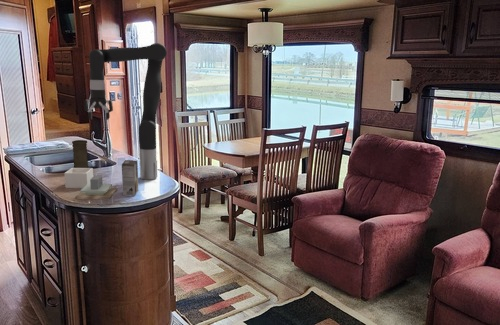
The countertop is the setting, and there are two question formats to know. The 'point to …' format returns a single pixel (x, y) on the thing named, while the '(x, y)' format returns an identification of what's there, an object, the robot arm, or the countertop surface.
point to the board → (105, 196)
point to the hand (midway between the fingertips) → (99, 119)
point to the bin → (78, 177)
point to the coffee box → (130, 178)
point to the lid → (96, 186)
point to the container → (80, 154)
